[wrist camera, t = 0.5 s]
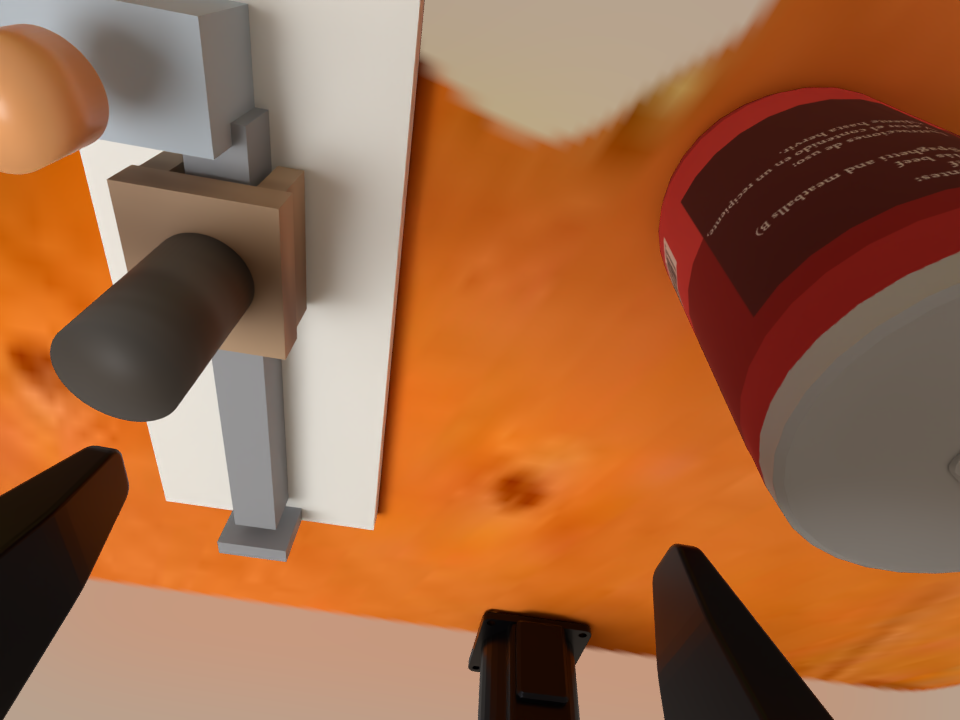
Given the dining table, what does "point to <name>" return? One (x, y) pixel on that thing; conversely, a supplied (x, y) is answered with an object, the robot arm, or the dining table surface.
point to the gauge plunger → (45, 99)
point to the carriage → (187, 286)
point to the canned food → (832, 313)
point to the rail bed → (328, 229)
